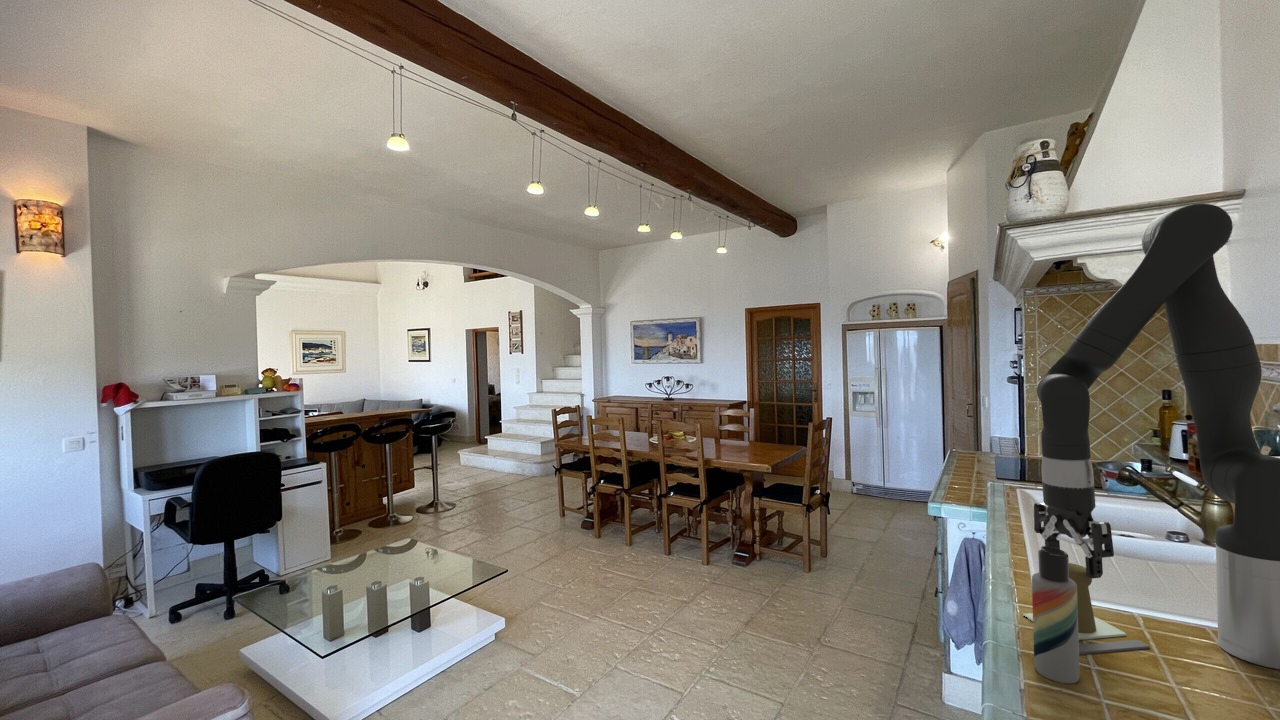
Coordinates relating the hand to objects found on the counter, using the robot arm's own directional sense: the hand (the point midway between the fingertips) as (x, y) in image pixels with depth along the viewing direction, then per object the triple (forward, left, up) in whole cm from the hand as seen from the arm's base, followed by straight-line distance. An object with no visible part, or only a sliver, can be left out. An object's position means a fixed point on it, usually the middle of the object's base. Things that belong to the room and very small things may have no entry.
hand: (1072, 567), depth 98 cm
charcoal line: (+3, +8, -11) cm, 13 cm away
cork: (+1, +1, -11) cm, 11 cm away
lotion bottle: (+15, +13, -11) cm, 23 cm away
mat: (+1, 0, -11) cm, 11 cm away
